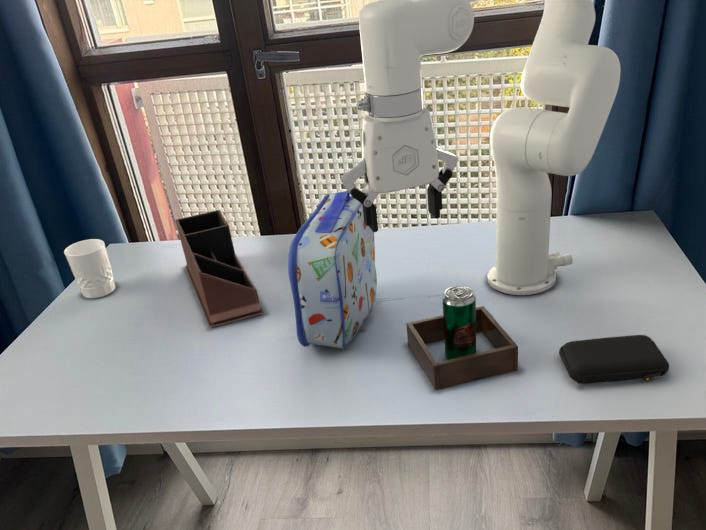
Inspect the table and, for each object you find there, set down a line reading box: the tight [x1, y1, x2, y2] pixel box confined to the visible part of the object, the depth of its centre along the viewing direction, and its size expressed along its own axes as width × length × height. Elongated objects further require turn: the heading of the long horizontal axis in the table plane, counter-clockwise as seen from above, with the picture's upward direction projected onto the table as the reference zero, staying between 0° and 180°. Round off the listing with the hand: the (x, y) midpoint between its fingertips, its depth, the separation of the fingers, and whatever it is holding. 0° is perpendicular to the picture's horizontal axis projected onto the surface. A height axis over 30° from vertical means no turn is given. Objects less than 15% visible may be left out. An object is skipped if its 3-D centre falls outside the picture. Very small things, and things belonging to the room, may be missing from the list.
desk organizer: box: [175, 209, 265, 329], centre depth 139 cm, size 10×29×11 cm, turn 21°
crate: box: [405, 305, 519, 391], centre depth 112 cm, size 14×14×4 cm
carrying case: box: [558, 334, 670, 385], centre depth 106 cm, size 11×3×15 cm
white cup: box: [63, 238, 116, 299], centre depth 144 cm, size 8×8×10 cm
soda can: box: [442, 285, 478, 360], centre depth 110 cm, size 5×5×12 cm
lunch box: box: [287, 190, 378, 349], centre depth 121 cm, size 28×10×22 cm, turn 168°
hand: (403, 221), depth 104 cm, fingers open, 9 cm apart
